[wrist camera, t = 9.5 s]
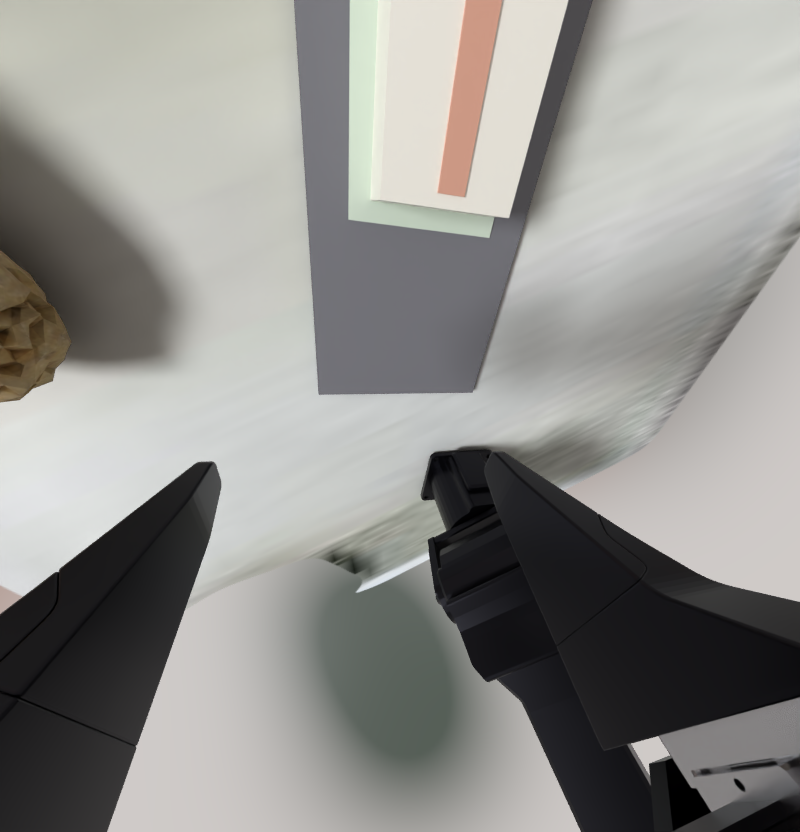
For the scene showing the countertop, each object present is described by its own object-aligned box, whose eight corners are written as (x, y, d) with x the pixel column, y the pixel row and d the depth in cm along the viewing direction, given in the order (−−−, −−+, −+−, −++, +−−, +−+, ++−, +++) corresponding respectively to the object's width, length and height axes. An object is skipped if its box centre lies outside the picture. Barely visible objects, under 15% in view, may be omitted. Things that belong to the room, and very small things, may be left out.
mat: (470, 390, 23) (472, 393, 23) (318, 391, 20) (318, 395, 20) (623, -121, 10) (634, -134, 10) (275, -304, 8) (273, -332, 7)
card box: (546, -85, 10) (620, -182, 8) (479, 215, 16) (510, 218, 13) (383, -157, 9) (408, -304, 6) (370, 200, 14) (380, 199, 12)
